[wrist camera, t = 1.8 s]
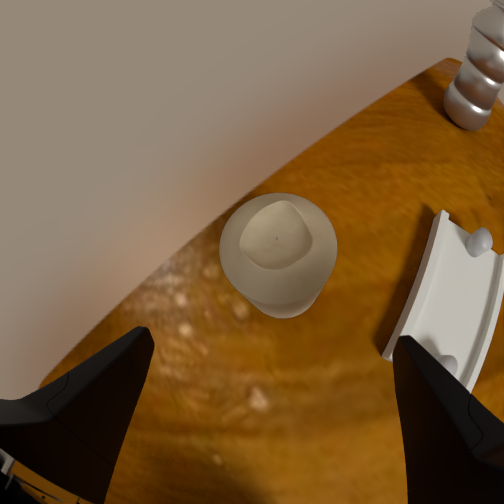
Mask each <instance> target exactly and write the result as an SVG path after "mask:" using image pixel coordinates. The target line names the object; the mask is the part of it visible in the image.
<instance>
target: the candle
mask: <svg viewBox="0 0 504 504" xmlns="http://www.w3.org/2000/svg"><path fill="white" fill-rule="evenodd" d="M219 256H220V262H221V266H222V269H223V271H224V273H225V275H226V277H227V279H228V280H229V282H230V283H231V284H232V285H233V287H234V288H236V289H237V290H238V291H239V292H240V293H241V294H242V295H243V296H244V297H245V298H246V299H248V300H249V301H250V302H251V303H252V304H253V305H254V306H255V307H256V308H258V309H259V310H260V311H262V312H263V313H265V314H267V315H269V316H272V317H276V318H290V317H294V316H297V315H299V314H301V313H303V312H304V311H306V310H307V309H308V308H309V307H310V306H311V305H312V304H313V302H314V301H315V299H316V298H317V296H318V295H319V293H320V291H321V290H322V288H323V286H324V285H325V283H326V281H327V279H328V278H329V276H330V274H331V272H332V270H333V268H334V265H335V261H336V256H337V240H336V235H335V232H334V229H333V227H332V224H331V222H330V221H329V219H328V218H327V216H326V215H325V214H324V212H323V211H322V210H321V209H320V208H318V207H317V206H316V205H315V204H313V203H312V202H310V201H308V200H307V199H305V198H302V197H300V196H296V195H293V194H287V193H271V194H266V195H262V196H259V197H256V198H254V199H252V200H249V201H248V202H246V203H245V204H243V205H242V206H241V207H239V208H238V209H237V210H236V211H235V212H234V213H233V214H232V216H231V217H230V218H229V219H228V221H227V223H226V225H225V227H224V229H223V231H222V234H221V238H220V244H219Z"/></svg>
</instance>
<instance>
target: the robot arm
mask: <svg viewBox="0 0 504 504" xmlns="http://www.w3.org/2000/svg"><path fill="white" fill-rule="evenodd" d="M154 346H155V345H154V341H153V338H152V336H151V333H150V331H149V329H148V328H147V327H142V326H137V327H135V328H134V329H132V330H131V331H129V332H128V333H126V334H125V335H123V336H122V337H120V338H119V339H117V340H116V341H114V342H113V343H111V344H110V345H108V346H107V347H105V348H104V349H102V350H100V351H99V352H97V353H96V354H94V355H93V356H91V357H90V358H88V359H87V360H85V361H84V362H82V363H81V364H79V365H78V366H76V367H75V368H73V369H72V370H70V372H67V373H65V374H64V375H62V376H61V377H59V378H58V379H56V380H54V381H53V382H51V383H49V384H48V385H46V386H44V387H42V388H40V389H38V390H36V391H35V392H33V393H31V394H29V395H27V396H25V397H23V398H21V399H17V400H4V399H0V504H79V503H78V500H79V498H82V499H84V500H87V501H89V502H91V503H93V504H104V501H105V497H106V494H107V491H108V487H109V484H110V481H111V478H112V474H113V471H114V468H115V464H116V461H117V458H118V455H119V452H120V449H121V446H122V443H123V440H124V438H125V435H126V432H127V429H128V426H129V423H130V421H131V418H132V415H133V412H134V410H135V407H136V404H137V402H138V399H139V396H140V394H141V391H142V388H143V386H144V383H145V380H146V377H147V373H148V369H149V366H150V362H151V358H152V355H153V351H154ZM392 360H393V370H394V381H395V392H396V399H397V405H398V410H399V416H400V423H401V429H402V437H403V444H404V453H405V463H406V475H407V490H408V492H407V494H408V504H504V423H503V422H502V421H500V420H499V419H498V418H497V417H496V416H494V415H493V414H492V413H491V412H490V411H489V410H488V409H487V408H485V407H484V406H483V405H482V404H481V403H480V402H479V401H478V400H477V399H476V398H475V397H474V396H473V395H472V394H470V392H469V391H468V390H467V389H466V388H465V387H464V386H463V385H462V384H461V383H460V382H459V381H458V380H457V379H456V378H455V377H454V376H453V375H452V374H451V373H450V372H449V371H448V370H447V369H446V368H445V367H444V366H443V365H442V364H441V363H440V362H439V361H438V360H436V359H435V358H434V357H433V356H432V355H431V354H430V353H429V352H428V351H427V350H426V349H425V348H424V347H423V346H422V345H420V344H419V343H418V342H417V341H416V340H415V339H414V338H413V337H412V336H410V335H402V336H399V337H398V339H397V342H396V345H395V347H394V350H393V353H392Z"/></svg>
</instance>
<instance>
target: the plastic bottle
mask: <svg viewBox="0 0 504 504" xmlns="http://www.w3.org/2000/svg"><path fill="white" fill-rule="evenodd" d="M490 1H491V2H493V4H492V6H491V7H489V8H486V9H483V10H482V11H480V12H478V13H477V14H476V15H475V16H474V17H473V20H472V27H471V33H470V40H469V45H468V48H467V52H466V56H465V58H464V61H463V64H462V65H461V67H460V69H459V71H458V73H457V75H456V76H455V78H454V80H453V81H452V82H451V83H450V84H449V86H448V87H447V89H446V90H445V93H444V98H443V106H444V110H445V112H446V114H447V115H448V116H449V118H450V119H451V120H452V121H453V122H454V123H456V124H457V125H458V126H460V127H461V128H463V129H465V130H468V131H476V130H480V129H481V128H482V127H483V126H484V125H485V124H486V123H487V120H488V118H489V116H490V113H491V109H492V106H493V104H494V102H495V100H496V98H497V95H498V93H499V91H500V89H501V87H502V85H503V83H504V0H490Z"/></svg>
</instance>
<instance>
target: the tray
mask: <svg viewBox="0 0 504 504" xmlns="http://www.w3.org/2000/svg"><path fill="white" fill-rule="evenodd" d="M448 218H449V213H447V212H445V211H444V210H441V211H440V212H439V213H438V214H437V215H436V216H435V217H434V219H433V223H432V227H431V231H430V234H429V238H428V241H427V245H426V248H425V251H424V254H423V258H422V261H421V264H420V267H419V270H418V272H417V275H416V278H415V281H414V284H413V286H412V289H411V292H410V294H409V297H408V299H407V302H406V304H405V307H404V309H403V311H402V314H401V316H400V318H399V321H398V323H397V325H396V327H395V329H394V332H393V334H392V336H391V338H390V340H389V342H388V344H387V346H386V348H385V350H384V352H383V354H382V356H381V357H382V358H384V359H386V360H388V361H390V362H392V363H393V360H392V353H393V350H394V347H395V345H396V342H397V339H398V337H399V336H402V335H410V336H412V337H413V338H414V339H415V340H416V341H417V342H418V343H419V344H420V345H422V346H423V347H424V348H425V349H426V350H427V351H428V352H429V353H430V354H431V355H432V356H433V357H434V358H435V359H436V360H438V361H439V362H440V363H441V364H442V365H443V366H444V367H445V368H446V369H447V370H448V371H449V372H450V373H451V374H452V375H453V376H454V377H455V378H456V379H457V380H458V381H459V382H460V383H461V384H462V385H463V386H464V387H465V388H466V389H467V390H468V391H469V392H470V393H471V391H472V389H473V387H474V384H475V382H476V380H477V377H478V375H479V372H480V370H481V367H482V365H483V362H484V359H485V357H486V354H487V351H488V348H489V345H490V342H491V339H492V335H493V332H494V329H495V325H496V322H497V318H498V314H499V310H500V306H501V301H502V297H503V292H504V254H502V255H500V256H499V255H498V254H496V253H495V252H494V251H493V250H491V247H492V237H491V234H490V233H489V231H488V230H487V229H485V228H479V229H478V230H477V231H475V232H474V233H473V234H471V235H470V234H469V233H468V232H466V231H465V230H463V229H462V228H460V227H459V226H457V225H456V224H454V223H453V222H451V221H450V220H448Z"/></svg>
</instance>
